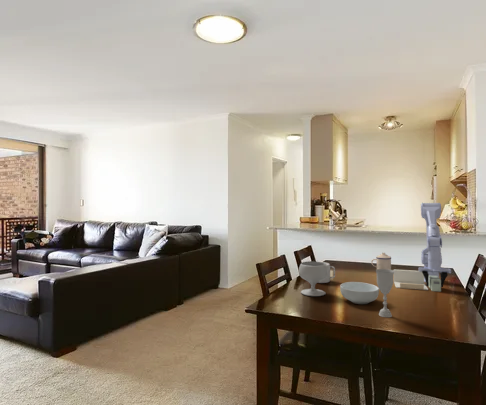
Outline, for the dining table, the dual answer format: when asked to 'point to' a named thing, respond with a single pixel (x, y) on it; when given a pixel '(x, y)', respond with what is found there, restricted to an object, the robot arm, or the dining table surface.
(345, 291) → the cereal bowl
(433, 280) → the cabinet block
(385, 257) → the teacup with lid
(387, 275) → the chalice
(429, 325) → the dining table surface
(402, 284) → the cream l-shaped stand
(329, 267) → the mug
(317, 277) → the chalice
